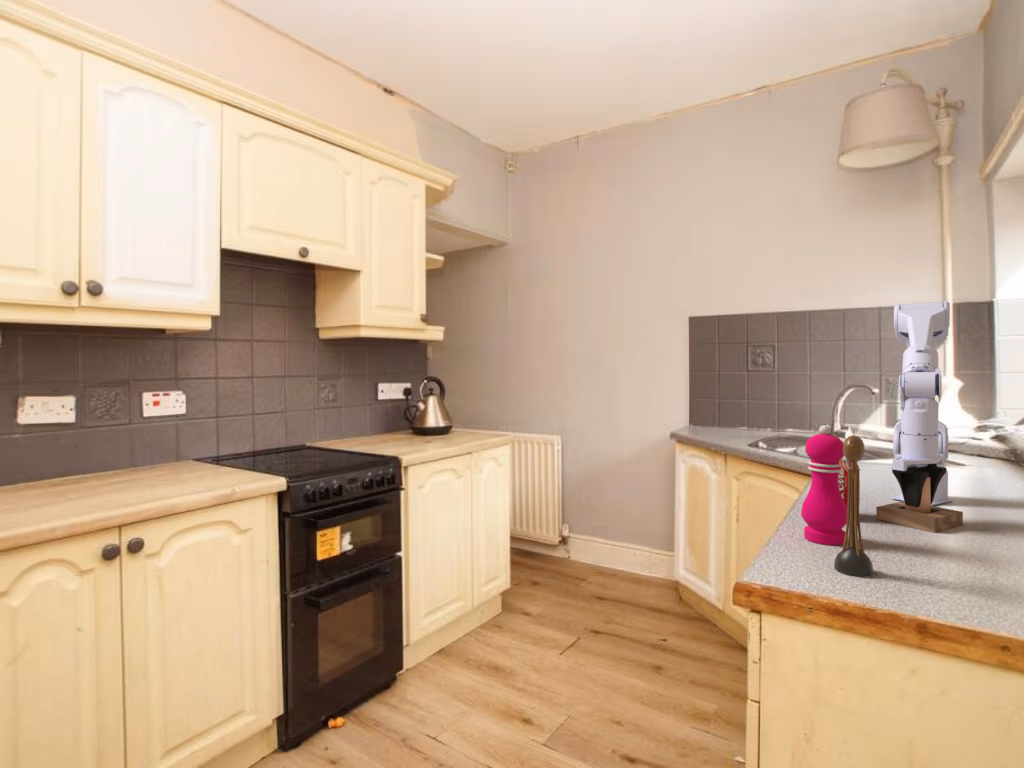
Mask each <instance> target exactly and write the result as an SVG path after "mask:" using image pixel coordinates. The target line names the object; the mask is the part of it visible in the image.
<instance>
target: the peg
mask: <svg viewBox="0 0 1024 768" xmlns="http://www.w3.org/2000/svg"><path fill="white" fill-rule="evenodd" d="M905 510H909V511H914V512H919V513H924V514H929V513H931V493H930V477H927V478H926V481H925V483H924V486H923V490H922V497H921V503H920V506H919V507H913V506H907V505H906V504H905Z"/></svg>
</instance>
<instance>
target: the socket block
mask: <svg viewBox="0 0 1024 768" xmlns="http://www.w3.org/2000/svg"><path fill="white" fill-rule="evenodd" d="M875 512H876V513H875V515H876V518H875V519H878V521H881V520H883V521H882V522H885V521H887V522H886V523H890V522H892V523H891V524H894V523H896V525H899V524H900V525H899V526H903V525H904V526H905V527H907V526H909V527H908V528H912V527H913V528H912V529H916V528H918V529H917V530H921V529H922V530H921V531H925V530H926V532H930V531H931V532H930V533H934V532H935V533H939V532H942V531H946V530H949V529H954V528H956V527H960V525H961V526H963V525H964V511H961V510H955V509H950V508H946V507H945V508H944V507H939V506H936V505H933V506H931V513H929V514H924V513H919V512H914V511H909V510H905V501H898V502H893V503H892V502H891V503H888V504H884V505H879V506H876V511H875ZM938 531H939V532H938Z"/></svg>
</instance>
